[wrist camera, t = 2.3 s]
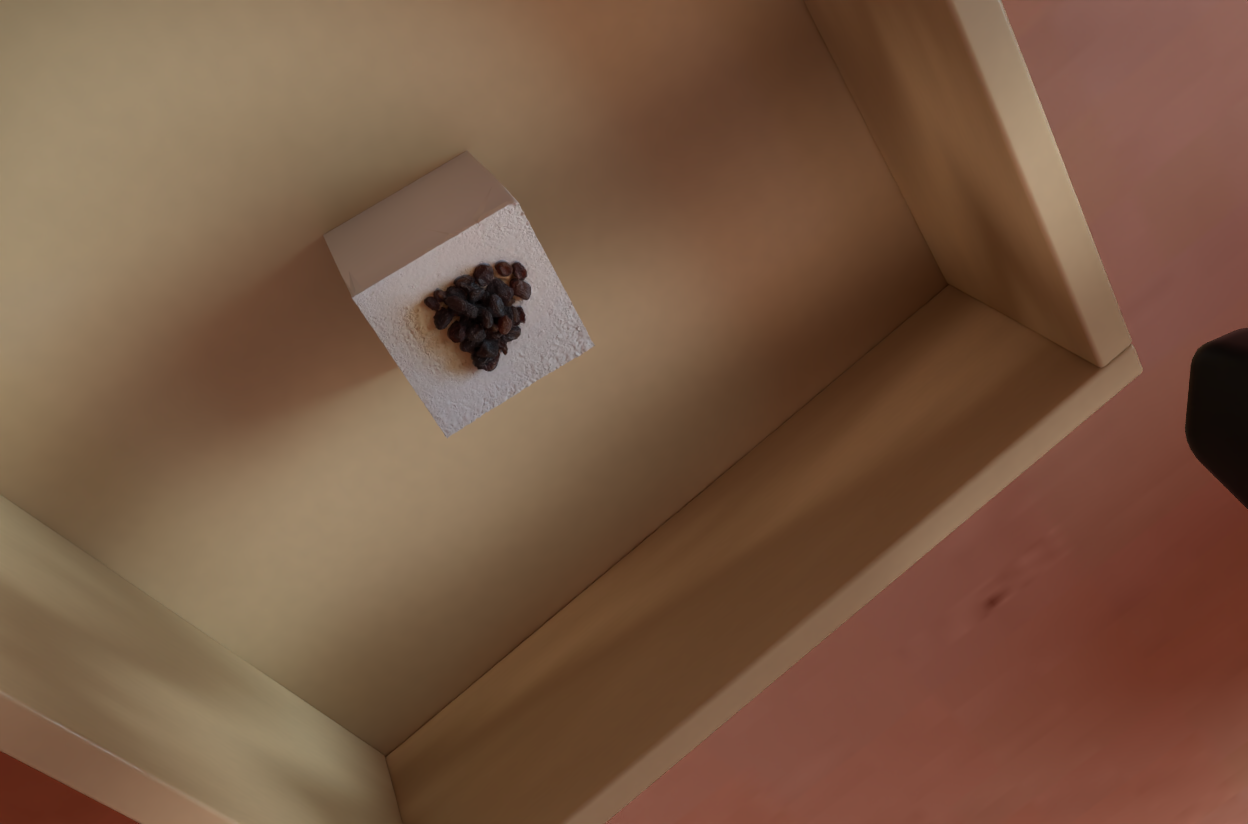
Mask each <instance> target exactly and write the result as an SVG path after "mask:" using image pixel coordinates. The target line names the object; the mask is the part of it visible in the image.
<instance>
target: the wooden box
mask: <svg viewBox="0 0 1248 824" xmlns="http://www.w3.org/2000/svg"><path fill="white" fill-rule="evenodd" d="M465 151H468V152H469V153H470V154H471V155H472V156H473V157H474V158H475V159H476V160H477V161H478V162H479V163H480V164H481V165H483V166H484V167H485V168H486V169H487V170H488V171H489V172H490V173H491V174H492V175H493V176H494V177H495V178H496V179H497V180H498V181H499V182H500V183H501V184H502V185H503V186H504V187H505V188H506V190H507V191H508V192H509V193H510V194H511V195H512V196H513V197H514V198H515V199H516V200H517V201H518V202H519V204H520V207H521V209H522V211H523V212H524V214H525V216H526V218H527V220H528V221H529V223H530V225H531V227H532V229H533V231H534V233H535V235H536V237H537V239H538V241H539V242H540V244H541V246H542V248H543V250H544V252H545V253H546V255H547V257H548V259H549V261H550V263H551V264H552V267H553V268H554V270H555V272H556V274H557V276H558V278H559V280H560V282H561V284H562V286H563V287H564V289H565V291H566V293H567V295H568V297H569V298H570V300H571V302H572V304H573V307H574V309H575V310H576V312H577V314H578V315H579V317H580V319H581V321H582V323H583V325H584V327H585V328H586V330H587V332H588V335H589V337H590V339H591V341H592V342H593V343H594V345H595V346H593V347H592V348H591V349H589V350H588V351H586V352H584V353H583V354H581V355H580V356H578V357H576V358H574V359H572V360H571V361H569V362H567V363H566V364H564V365H563V366H560V367H559V368H558V369H556V370H555V371H553V372H551V373H548V375H546V376H543V377H542V378H541V379H539V380H537V381H536V382H534V383H533V384H531V385H530V386H529V387H526V388H524V389H523V390H521V391H520V393H517V394H516V395H514V396H513V397H511V398H510V399H507V400H506V401H505V402H503V403H502V404H500V405H498V406H496V407H494V408H493V409H491V410H490V411H488V412H485V413H484V414H483V415H481V417H480V418H477V419H475V421H473V422H472V423H470V424H468V425H466V426H465V427H464V428H463V429H461V430H459V431H457V432H455V434H452V435H451V436H450V437H448V439H447V438H446V436H445V435H444V433H443V431H442V430H441V428H440V427H439V426H438V424H437V423H436V421H435V420H434V419H433V417H432V415H431V414H430V412H429V411H428V409H427V408H426V406H425V404H424V403H423V402H422V401H421V399H420V398H419V396H418V395H417V393H416V392H415V390H414V389H413V387H412V386H411V384H410V383H409V381H408V380H407V378H406V377H405V375H404V374H403V372H402V371H401V370H400V368H399V367H398V365H397V364H396V362H395V361H394V359H393V358H392V356H391V355H390V353H389V352H388V350H387V349H386V347H385V346H384V344H383V343H382V342H381V340H380V338H379V337H378V336H377V334H376V332H375V331H374V330H373V328H372V327H371V325H370V324H369V322H368V321H367V320H366V318H365V316H364V315H363V313H362V312H361V311H360V309H359V307H358V306H357V304H356V303H355V302H354V300H353V299H352V297H351V294H350V292H349V290H348V288H347V286H346V284H345V282H344V280H343V278H342V276H341V274H340V271H339V269H338V267H337V265H336V263H335V260H334V258H333V256H332V254H331V252H330V249H329V247H328V245H327V243H326V241H325V239H324V236H323V235H324V234H326V233H328V232H329V231H331V230H333V229H334V228H336V227H338V226H340V225H341V224H343V223H345V222H346V221H348V220H350V219H351V218H353V217H355V216H357V215H358V214H360V213H362V212H363V211H365V210H367V209H368V208H370V207H372V206H374V205H375V204H377V203H379V202H380V201H382V200H384V199H385V198H387V197H389V196H391V195H392V194H394V193H396V192H397V191H399V190H401V189H403V188H404V187H406V186H408V185H409V184H411V183H413V182H414V181H416V180H418V179H420V178H421V177H423V176H425V175H426V174H428V173H430V172H431V171H433V170H435V169H437V168H438V167H440V166H442V165H443V164H445V163H447V162H448V161H450V160H452V159H454V158H455V157H457V156H459V155H460V154H462V153H464V152H465ZM1131 343H1132V340H1131V337H1130V334H1129V332H1128V329H1127V327H1126V324H1125V321H1124V319H1123V316H1122V314H1121V311H1120V308H1119V306H1118V303H1117V301H1116V298H1115V295H1114V293H1113V290H1112V287H1111V285H1110V282H1109V280H1108V277H1107V274H1106V272H1105V269H1104V267H1103V264H1102V261H1101V259H1100V256H1099V254H1098V251H1097V248H1096V246H1095V243H1094V241H1093V238H1092V235H1091V233H1090V230H1089V228H1088V225H1087V222H1086V220H1085V217H1084V215H1083V212H1082V209H1081V207H1080V204H1079V202H1078V199H1077V196H1076V194H1075V191H1074V189H1073V186H1072V183H1071V181H1070V178H1069V176H1068V173H1067V170H1066V168H1065V165H1064V163H1063V160H1062V157H1061V155H1060V152H1059V150H1058V147H1057V144H1056V142H1055V139H1054V137H1053V134H1052V131H1051V129H1050V126H1049V124H1048V121H1047V118H1046V116H1045V113H1044V111H1043V108H1042V105H1041V103H1040V100H1039V98H1038V95H1037V92H1036V90H1035V87H1034V85H1033V82H1032V79H1031V77H1030V74H1029V72H1028V69H1027V66H1026V64H1025V61H1024V59H1023V56H1022V53H1021V51H1020V48H1019V46H1018V43H1017V40H1016V38H1015V35H1014V33H1013V30H1012V27H1011V25H1010V22H1009V20H1008V17H1007V14H1006V12H1005V9H1004V7H1003V4H1002V1H1001V0H0V751H1V752H3V753H5V754H7V755H9V756H11V757H13V758H15V759H17V760H19V761H21V762H22V763H24V764H26V765H28V766H30V767H32V768H34V769H36V770H38V771H40V772H42V773H44V774H46V775H48V776H49V777H51V778H53V779H55V780H57V781H59V782H61V783H63V784H65V785H67V786H69V787H71V788H73V789H74V790H76V791H78V792H80V793H82V794H84V795H86V796H88V797H90V798H92V799H94V800H96V801H98V802H99V803H101V804H103V805H105V806H107V807H109V808H111V809H113V810H115V811H117V812H119V813H121V814H123V815H124V816H126V817H128V818H130V819H132V820H134V821H136V822H138V823H140V824H605V823H606V822H607V821H608V820H610V819H611V818H612V817H613V816H614V815H616V814H617V813H618V812H619V811H620V810H621V809H623V808H624V807H625V806H626V805H627V804H629V803H630V802H631V801H632V800H633V799H635V798H636V797H637V796H638V795H639V794H641V793H642V792H643V791H644V790H645V789H647V788H648V787H649V786H650V785H651V784H652V783H654V782H655V781H656V780H657V779H658V778H660V777H661V776H662V775H663V774H664V773H666V772H667V771H668V770H669V769H670V768H672V767H673V766H674V765H675V764H676V763H677V762H679V761H680V760H681V759H682V758H683V757H685V756H686V755H687V754H688V753H689V752H691V751H692V750H693V749H694V748H695V747H697V746H698V745H699V744H700V743H701V742H703V741H704V740H705V739H706V738H707V737H708V736H710V735H711V734H712V733H713V732H714V731H716V730H717V729H718V728H719V727H720V726H722V725H723V724H724V723H725V722H726V721H728V720H729V719H730V718H731V717H732V716H733V715H735V714H736V713H737V712H738V711H739V710H741V709H742V708H743V707H744V706H745V705H747V704H748V703H749V702H750V701H751V700H753V699H754V698H755V697H756V696H757V695H759V694H760V693H761V692H762V691H763V690H764V689H766V688H767V687H768V686H769V685H770V684H772V683H773V682H774V681H775V680H776V679H778V678H779V677H780V676H781V675H782V674H784V673H785V672H786V671H787V670H788V669H789V668H791V667H792V666H793V665H794V664H795V663H797V662H798V661H799V660H800V659H801V658H803V657H804V656H805V655H806V654H807V653H809V652H810V651H811V650H812V649H813V648H815V647H816V646H817V645H818V644H819V643H820V642H822V641H823V640H824V639H825V638H826V637H828V636H829V635H830V634H831V633H832V632H834V631H835V630H836V629H837V628H838V627H840V626H841V625H842V624H843V623H844V622H845V621H847V620H848V619H849V618H850V617H851V616H853V615H854V614H855V613H856V612H857V611H859V610H860V609H861V608H862V607H863V606H865V605H866V604H867V603H868V602H869V601H871V600H872V599H873V598H874V597H875V596H876V595H878V594H879V593H880V592H881V591H882V590H884V589H885V588H886V587H887V586H888V585H890V584H891V583H892V582H893V581H894V580H896V579H897V578H898V577H899V576H900V575H901V574H903V573H904V572H905V571H906V570H907V569H909V568H910V567H911V566H912V565H913V564H915V563H916V562H917V561H918V560H919V559H921V558H922V557H923V556H924V555H925V554H927V553H928V552H929V551H930V550H931V549H932V548H934V547H935V546H936V545H937V544H938V543H940V542H941V541H942V540H943V539H944V538H946V537H947V536H948V535H949V534H950V533H952V532H953V531H954V530H955V529H956V528H957V527H959V526H960V525H961V524H962V523H963V522H965V521H966V520H967V519H968V518H969V517H971V516H972V515H973V514H974V513H975V512H977V511H978V510H979V509H980V508H981V507H983V506H984V505H985V504H986V503H987V502H988V501H990V500H991V499H992V498H993V497H994V496H996V495H997V494H998V493H999V492H1000V491H1002V490H1003V489H1004V488H1005V487H1006V486H1008V485H1009V484H1010V483H1011V482H1012V481H1013V480H1015V479H1016V478H1017V477H1018V476H1019V475H1021V474H1022V473H1023V472H1024V471H1025V470H1027V469H1028V468H1029V467H1030V466H1031V465H1033V464H1034V463H1035V462H1036V461H1037V460H1039V459H1040V458H1041V457H1042V456H1043V455H1044V454H1046V453H1047V452H1048V451H1049V450H1050V449H1052V448H1053V447H1054V446H1055V445H1056V444H1058V443H1059V442H1060V441H1061V440H1062V439H1064V438H1065V437H1066V436H1067V435H1068V434H1069V433H1071V432H1072V431H1073V430H1074V429H1075V428H1077V427H1078V426H1079V425H1080V424H1081V423H1083V422H1084V421H1085V420H1086V419H1087V418H1089V417H1090V416H1091V415H1092V414H1093V413H1094V412H1096V411H1097V410H1098V409H1099V408H1100V407H1102V406H1103V405H1104V404H1105V403H1106V402H1108V401H1109V400H1110V399H1111V398H1112V397H1114V396H1115V395H1116V394H1117V393H1118V392H1120V391H1121V390H1122V389H1123V388H1124V387H1125V386H1127V385H1128V384H1129V383H1130V382H1131V381H1133V380H1134V379H1135V378H1136V377H1137V376H1139V375H1140V374H1141V372H1142V371H1143V368H1142V366H1141V363H1140V360H1139V358H1138V355H1137V353H1136V350H1135V347H1134V346H1133V345H1132V344H1131Z"/></svg>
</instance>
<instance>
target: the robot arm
mask: <svg viewBox="0 0 1248 824" xmlns="http://www.w3.org/2000/svg"><path fill="white" fill-rule="evenodd" d="M1185 433H1186V438H1187V442H1188V444H1189V446H1190V449H1191V450H1192V452H1193V454H1194V455H1195V457H1196V458H1197V459H1198V460H1199V461H1200V462H1201V463H1202V464H1203V465H1204V466H1205V467H1206V468H1207V469H1208V470H1209V471H1210V472H1211V473H1212V474H1213V475H1214V476H1215V477H1216V478H1217V479H1218V480H1219V481H1220V482H1221V483H1222V484H1223V485H1224V486H1225V487H1226V488H1227V489H1228V490H1229V491H1230V492H1231V493H1232V494H1233V495H1234V496H1235V497H1236V498H1237V499H1238V500H1239V501H1240V502H1241V503H1242V504H1243V505H1244V506H1245V507H1246V508H1247V509H1248V328H1243V329H1239V330H1235V331H1233V332H1231V333H1228V334H1226V335H1224V336H1221V337H1219V338H1217V339H1215V340H1212V341H1210V342H1208V343H1206V344H1204V345H1202V346H1201V347H1200V348H1199V349H1198V350H1197V351H1196V353H1195V355H1194V356H1193V359H1192V363H1191V370H1190V381H1189V392H1188V402H1187V413H1186V424H1185Z"/></svg>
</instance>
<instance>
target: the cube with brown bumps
mask: <svg viewBox="0 0 1248 824" xmlns="http://www.w3.org/2000/svg"><path fill="white" fill-rule="evenodd" d="M323 236H324V239H325V241H326V243H327V245H328V247H329V249H330V252H331V254H332V256H333V258H334V260H335V263H336V265H337V267H338V269H339V271H340V274H341V276H342V278H343V280H344V282H345V284H346V286H347V288H348V290H349V292H350V294H351V297H352V299H353V300H354V302H355V303H356V304H357V306H358V307H359V309H360V311H361V312H362V313H363V315H364V316H365V318H366V320H367V321H368V322H369V324H370V325H371V327H372V328H373V330H374V331H375V332H376V334H377V336H378V337H379V338H380V340H381V342H382V343H383V344H384V346H385V347H386V349H387V350H388V352H389V353H390V355H391V356H392V358H393V359H394V361H395V362H396V364H397V365H398V367H399V368H400V370H401V371H402V372H403V374H404V375H405V377H406V378H407V380H408V381H409V383H410V384H411V386H412V387H413V389H414V390H415V392H416V393H417V395H418V396H419V398H420V399H421V401H422V402H423V403H424V404H425V406H426V408H427V409H428V411H429V412H430V414H431V415H432V417H433V419H434V420H435V421H436V423H437V424H438V426H439V427H440V428H441V430H442V431H443V433H444V435H445V436H446V438H447V439H448V437H450V436H451V435H452V434H455V432H457V431H459V430H461V429H463V428H464V427H465V426H466V425H468V424H470V423H472V422H473V421H475V419H477V418H480V417H481V415H483V414H484V413H485V412H488V411H490V410H491V409H493V408H494V407H496V406H498V405H500V404H502V403H503V402H505V401H506V400H507V399H510V398H511V397H513V396H514V395H516V394H517V393H520V391H521V390H523V389H524V388H526V387H529V386H530V385H531V384H533V383H534V382H536V381H537V380H539V379H541V378H542V377H543V376H546V375H548V373H551V372H553V371H555V370H556V369H558V368H559V367H560V366H563V365H564V364H566V363H567V362H569V361H571V360H572V359H574V358H576V357H578V356H580V355H581V354H583V353H584V352H586V351H588V350H589V349H591V348H592V347H593V346H595V345H594V343H593V342H592V341H591V339H590V337H589V335H588V332H587V330H586V328H585V327H584V325H583V323H582V321H581V319H580V317H579V315H578V314H577V312H576V310H575V309H574V307H573V304H572V302H571V300H570V298H569V297H568V295H567V293H566V291H565V289H564V287H563V286H562V284H561V282H560V280H559V278H558V276H557V274H556V272H555V270H554V268H553V267H552V264H551V263H550V261H549V259H548V257H547V255H546V253H545V252H544V250H543V248H542V246H541V244H540V242H539V241H538V239H537V237H536V235H535V233H534V231H533V229H532V227H531V225H530V223H529V221H528V220H527V218H526V216H525V214H524V212H523V211H522V209H521V207H520V204H519V202H518V201H517V200H516V199H515V198H514V197H513V196H512V195H511V194H510V193H509V192H508V191H507V190H506V188H505V187H504V186H503V185H502V184H501V183H500V182H499V181H498V180H497V179H496V178H495V177H494V176H493V175H492V174H491V173H490V172H489V171H488V170H487V169H486V168H485V167H484V166H483V165H481V164H480V163H479V162H478V161H477V160H476V159H475V158H474V157H473V156H472V155H471V154H470V153H469V152H468V151H465V152H464V153H462V154H460V155H459V156H457V157H455V158H454V159H452V160H450V161H448V162H447V163H445V164H443V165H442V166H440V167H438V168H437V169H435V170H433V171H431V172H430V173H428V174H426V175H425V176H423V177H421V178H420V179H418V180H416V181H414V182H413V183H411V184H409V185H408V186H406V187H404V188H403V189H401V190H399V191H397V192H396V193H394V194H392V195H391V196H389V197H387V198H385V199H384V200H382V201H380V202H379V203H377V204H375V205H374V206H372V207H370V208H368V209H367V210H365V211H363V212H362V213H360V214H358V215H357V216H355V217H353V218H351V219H350V220H348V221H346V222H345V223H343V224H341V225H340V226H338V227H336V228H334V229H333V230H331V231H329V232H328V233H326V234H324V235H323Z"/></svg>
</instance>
